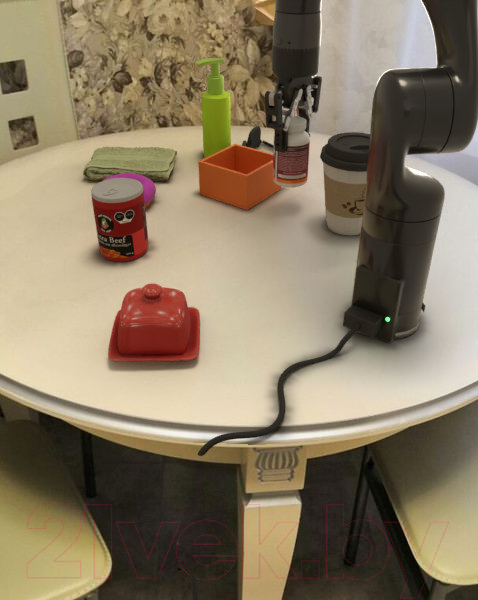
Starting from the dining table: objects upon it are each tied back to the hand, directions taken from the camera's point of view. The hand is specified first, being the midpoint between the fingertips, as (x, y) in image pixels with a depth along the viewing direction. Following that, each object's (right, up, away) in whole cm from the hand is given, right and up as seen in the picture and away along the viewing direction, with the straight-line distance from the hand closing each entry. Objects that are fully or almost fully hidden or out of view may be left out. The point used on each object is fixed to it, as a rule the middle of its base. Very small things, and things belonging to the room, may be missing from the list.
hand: (291, 145), depth 106 cm
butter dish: (-20, -32, -25) cm, 45 cm away
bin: (-9, -6, +12) cm, 16 cm away
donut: (-30, -9, +9) cm, 32 cm away
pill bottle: (0, -6, +4) cm, 7 cm away
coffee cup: (+10, -14, +1) cm, 17 cm away
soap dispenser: (-14, +4, +27) cm, 31 cm away
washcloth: (-31, 0, +21) cm, 37 cm away
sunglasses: (-1, +3, +25) cm, 25 cm away
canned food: (-28, -19, -6) cm, 34 cm away
